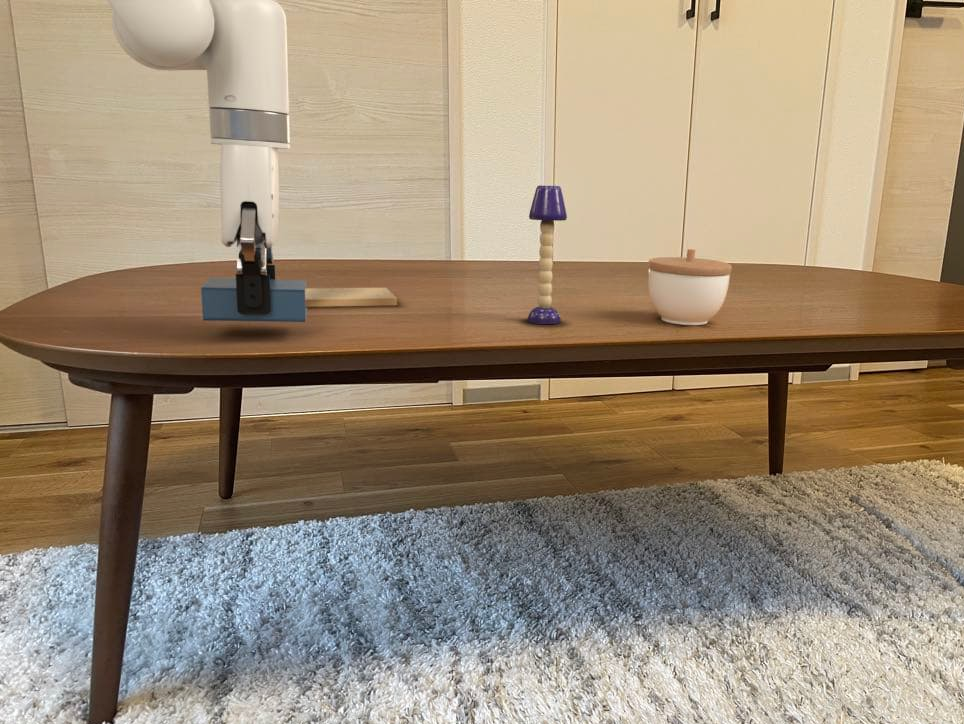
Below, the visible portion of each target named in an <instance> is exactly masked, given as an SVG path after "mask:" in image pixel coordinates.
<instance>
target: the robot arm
mask: <svg viewBox="0 0 964 724" xmlns="http://www.w3.org/2000/svg"><path fill="white" fill-rule="evenodd" d="M106 1H107V2H108V4H109V5H110V7H111V8H112V13H111V14H112V15H111V23H112V29H113V34H114V36H115V38H116V41H117V42H118V45H120V47H121V48H122V50H123V51H124V52H125V54H127V55H128V56H129V57H130V58H131V59H132V60H134V61H135V62H137V63H139V64H140V65H142V66H145V67H147V68H150V69H153V70H158V71H171V72H172V71H206V78H207V80H206V81H207V95H208V98H207V99H208V108H209V109H208V111H209V132H210V144H211V145H221V147H220V150H221V151H220V217H221V219H220V222H221V224H220V225H221V227H220V228H221V229H220V230H221V243H222V244H223V246H225V247H226V248H230V247H232V246H233V245H234V244H235V243H236V272H237V273H235V278H236V291H237V310H238V312H239V313H240V314H269V313H270V312H271V296H270V279H276V265H275V264H274V256H273V254H274V253H273V246H274V245H275V244H276V242H277V241H278V235H279V222H280V221H279V220H280V219H279V218H280V217H279V216H280V172H279V168H280V167H279V149H280V150H291V135H290V134H291V133H290V129H291V128H290V99H289V97H290V95H289V68H288V67H289V66H288V65H289V63H288V61H289V60H288V59H289V58H288V27H287V26H288V25H287V16H286V13H285V10H284V9H283V7H282V6H281V5H280V3H279V2H277V1H276V0H106Z"/></svg>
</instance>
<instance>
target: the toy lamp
mask: <svg viewBox="0 0 964 724" xmlns="http://www.w3.org/2000/svg"><path fill="white" fill-rule="evenodd" d="M534 191H535V192H534V195H533V199H532V202H531V206H530V211H529V214H528V218H529V220H531V221H540V225H539V230H540V236H539V243H540V246H539V249H538V250H539V257H540V258H539V261H538V269H539V272H538V281H539V285H538V294H539V297H538V301H537V303H538V306H536V307H534V308H532V309H531V310H530V312H529V313H528V316H527V322H528V323H530V324H534V325H556V324H560V323H561V322H562V320H561V316H560V313H559V312H558V310H557V309H556V308H554V307H552V305H553V299H552V298H553V297H552V293H553V284H552V282H553V278H554V277H553V275H554V274H553V272H552V270H553V265H554V263H553V262H554V261H553V255H554V247H553V244H554V233H553V232H554V230H555V221H556V222H558V221H563V222H564V221H567V218H568V215H567V209H566V205H565V200H564V195H563V190H562V187H561V186H559V185H537V186H536V188H535V190H534Z"/></svg>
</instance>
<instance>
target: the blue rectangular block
mask: <svg viewBox="0 0 964 724" xmlns="http://www.w3.org/2000/svg"><path fill="white" fill-rule="evenodd" d="M307 284H308V280H306V279H278V278H277V279H276V278H275V279H270V296H271V312H270V313H269V314H240V313H239V312H238V310H237V291H236V277H210V278H208V280H207V281H205V282H204V284H203V285H201V287H200V292H201V308H202V309H201V310H202V311H201V312H202V321H203V322H204V321H205V322H207V321H208V322H209V321H210V322H219V321H220V322H268V323H269V322H276V323H277V322H279V323H281V322H283V323H306V321H307V317H308V316H307V315H308V307H305V289H306V288H307Z"/></svg>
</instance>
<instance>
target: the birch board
mask: <svg viewBox="0 0 964 724" xmlns="http://www.w3.org/2000/svg"><path fill="white" fill-rule="evenodd" d="M382 306H383V307H384V306H385V307H387V306H389V307H390V306H398V298H397V297H396V295H394V293H393V292H392V291H390V289H389V288H387V287H323V288H322V287H321V288H320V287H319V288H318V287H316V288H315V287H313V288H310V287H308V288H307V287H306V289H305V308H320V307H321V308H325V307H326V308H327V307H328V308H329V307H333V308H334V307H382Z"/></svg>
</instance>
